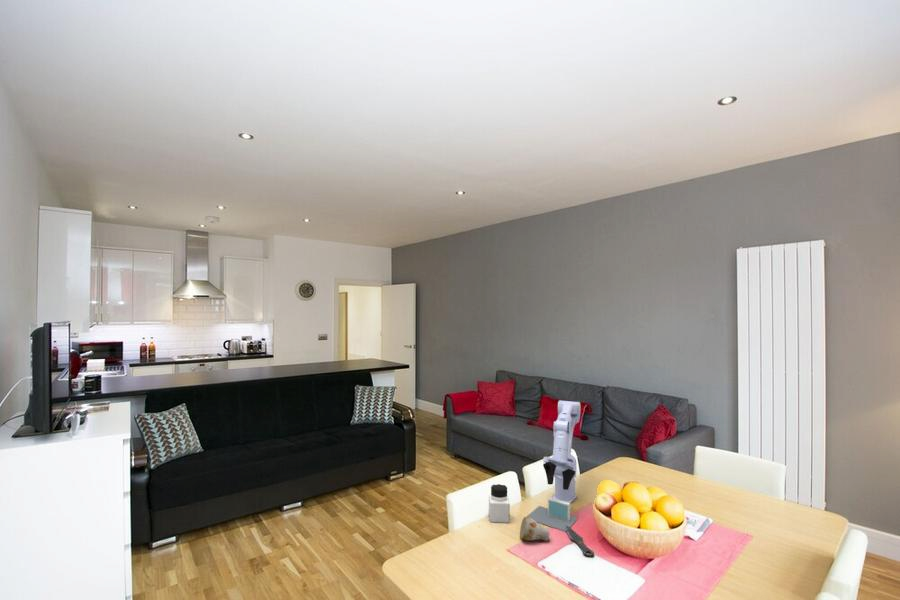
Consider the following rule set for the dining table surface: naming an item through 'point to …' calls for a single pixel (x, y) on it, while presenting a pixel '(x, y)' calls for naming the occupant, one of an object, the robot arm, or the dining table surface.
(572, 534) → the throwing knife
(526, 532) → the mug
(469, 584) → the dining table surface
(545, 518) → the mat
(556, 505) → the tile
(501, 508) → the medicine bottle
